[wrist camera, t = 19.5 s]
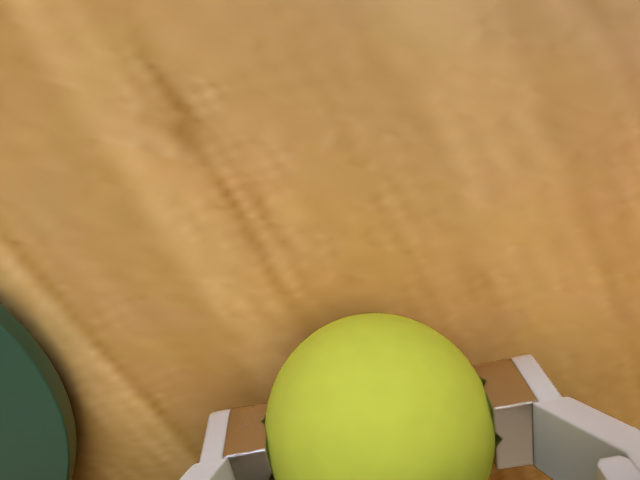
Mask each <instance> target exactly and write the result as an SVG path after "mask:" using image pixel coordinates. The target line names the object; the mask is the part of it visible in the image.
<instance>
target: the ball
mask: <svg viewBox="0 0 640 480" xmlns="http://www.w3.org/2000/svg"><path fill="white" fill-rule="evenodd" d="M265 426H266V432H267V441H268V450H269V455H270V461H271V467H272V471H273V476H274V479H275V480H489V477H490V474H491V470H492V465H493V459H494V453H495V432H494V427H493V421H492V417H491V412H490V407H489V404H488V401H487V398H486V395H485V390H484V387H483V383H482V381H481V380H480V378H479V376H478V374H477V372H476V371H475V369H474V368H473V366H472V365H471V363H470V362H469V361H468V359H467V358H466V357H465V356H464V354H463V353H462V352H461V351H460V350H459V349H458V348H457V347H456V346H455V345H454V344H453V343H452V342H451V341H450V340H448V339H447V338H446V337H444V336H443V335H441V334H440V333H438V332H437V331H435V330H434V329H432V328H431V327H429V326H427V325H425V324H423V323H421V322H418V321H415V320H412V319H409V318H407V317H403V316H399V315H394V314H386V313H365V314H357V315H353V316H348V317H344V318H341V319H339V320H336V321H333V322H331V323H329V324H327V325H325V326H323V327H321V328H320V329H318V330H317V331H315V332H314V333H312V334H311V335H310V336H309V337H308V338H306V339H305V340H304V341H303V342H302V343H301V344H299V345H298V346H297V348H296V349H295V350H294V351H293V352H292V353H291V354H290V356H289V357H288V359H287V360H286V362H285V363H284V365H283V366H282V368H281V369H280V371H279V373H278V375H277V377H276V380H275V382H274V384H273V387H272V390H271V393H270V396H269V400H268V405H267V411H266V419H265Z"/></svg>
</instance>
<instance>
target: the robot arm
mask: <svg viewBox="0 0 640 480" xmlns="http://www.w3.org/2000/svg"><path fill="white" fill-rule="evenodd" d="M472 366H473V368H474V369H475V371H476V372H477V374H478V376H479V378H480V380H481V381H482V383H483V387H484V390H485V395H486V398H487V401H488V404H489V407H490V412H491V417H492V421H493V427H494V432H495V453H494V459H493V461H494V464H495V466H496V468H497V470H498V469H504V468H511V467H518V466H525V465H531V464H534V466H535V467H536V468H538V469H539V470H540V471H542V472H543V473H544V474H546V475H547V476H548V477H550V478H551V479H552V480H640V430H639V429H637V428H635V427H633V426H630V425H628V424H626V423H624V422H622V421H620V420H618V419H616V418H614V417H611V416H609V415H607V414H605V413H603V412H601V411H599V410H597V409H595V408H592V407H590V406H588V405H586V404H584V403H582V402H580V401H578V400H576V399H573V398H571V397H569V396H567V397H562V396H561V394H560V393H559V391H558V390H557V389H556V387H555V386H554V385H553V383H552V382H551V380H550V379H549V378H548V376H547V375H546V373H545V372H544V371H543V369H542V368H541V366H540V365H539V364H538V362H537V361H536V359H535V358H534V357H533V356H532V355H531V354H525V355H520V356H516V357H511V358H509V359H503V360H498V361H492V362H487V363H482V364H477V365H472ZM267 405H268V403H263V404H256V405H250V406H244V407H238V408H232V409H227V410H221V411H215V412H212V413H211V414H210V416H209V419H208V423H207V428H206V433H205V437H204V442H203V447H202V452H201V456H200V461H199V463H196V464H193V465H192V466H191V467H190V468H189V469H188V470H187V471H186V473H185V474H184V475H183V476H182V477H181V478H180V479H179V480H275V479H274V476H273V471H272V467H271V461H270V455H269V450H268V441H267V432H266V426H265V419H266V411H267Z"/></svg>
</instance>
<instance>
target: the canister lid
mask: <svg viewBox="0 0 640 480" xmlns="http://www.w3.org/2000/svg"><path fill="white" fill-rule="evenodd" d="M76 451H77V440H76V427H75V420H74V416H73V412H72V408H71V404H70V400H69V398H68V396H67V393H66V391H65V388H64V386H63V384H62V381H61V379H60V377H59V375H58V373H57V372H56V370H55V368H54V367H53V365H52V363H51V361H50V360H49V358H48V356H47V355H46V353H45V352H44V350H43V349H42V348H41V347H40V345H39V344H38V343H37V342H36V340H35V339H34V338H33V336H32V335H31V334H30V333H29V331H28V330H27V329H26V328H25V327H24V326H23V325H22V324H21V323H20V322H19V321H18V320H17V319H16V318H15V317H14V316H13V315H12V314H11V313H10V312H9V311H8V310H7V309H6V308H5V307H4V306H3V305H2V304H1V303H0V480H71V478H72V475H73V472H74V468H75V460H76Z"/></svg>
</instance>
